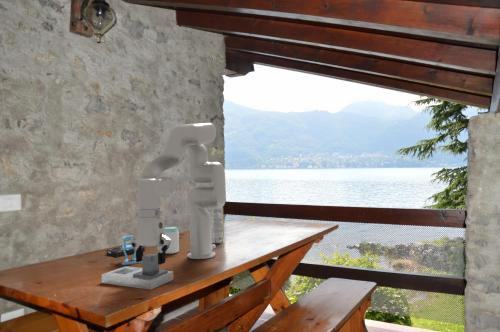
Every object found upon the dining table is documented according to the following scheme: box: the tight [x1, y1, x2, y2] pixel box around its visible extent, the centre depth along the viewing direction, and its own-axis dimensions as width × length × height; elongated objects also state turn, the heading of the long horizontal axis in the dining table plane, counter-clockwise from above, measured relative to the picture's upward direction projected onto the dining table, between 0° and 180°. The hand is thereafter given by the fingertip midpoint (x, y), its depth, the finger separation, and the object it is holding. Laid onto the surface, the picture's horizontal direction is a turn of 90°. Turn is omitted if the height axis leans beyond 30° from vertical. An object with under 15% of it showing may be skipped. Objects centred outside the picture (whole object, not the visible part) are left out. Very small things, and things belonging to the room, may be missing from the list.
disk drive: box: [106, 246, 146, 258], centre depth 186 cm, size 10×3×15 cm
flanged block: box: [133, 253, 169, 279], centre depth 135 cm, size 8×8×9 cm
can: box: [164, 226, 180, 255], centre depth 184 cm, size 7×7×12 cm
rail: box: [101, 265, 174, 291], centre depth 138 cm, size 12×22×3 cm, turn 65°
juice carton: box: [206, 206, 225, 244], centre depth 207 cm, size 9×8×24 cm
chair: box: [121, 234, 142, 266], centre depth 167 cm, size 8×8×12 cm
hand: (150, 262), depth 135 cm, fingers open, 9 cm apart
